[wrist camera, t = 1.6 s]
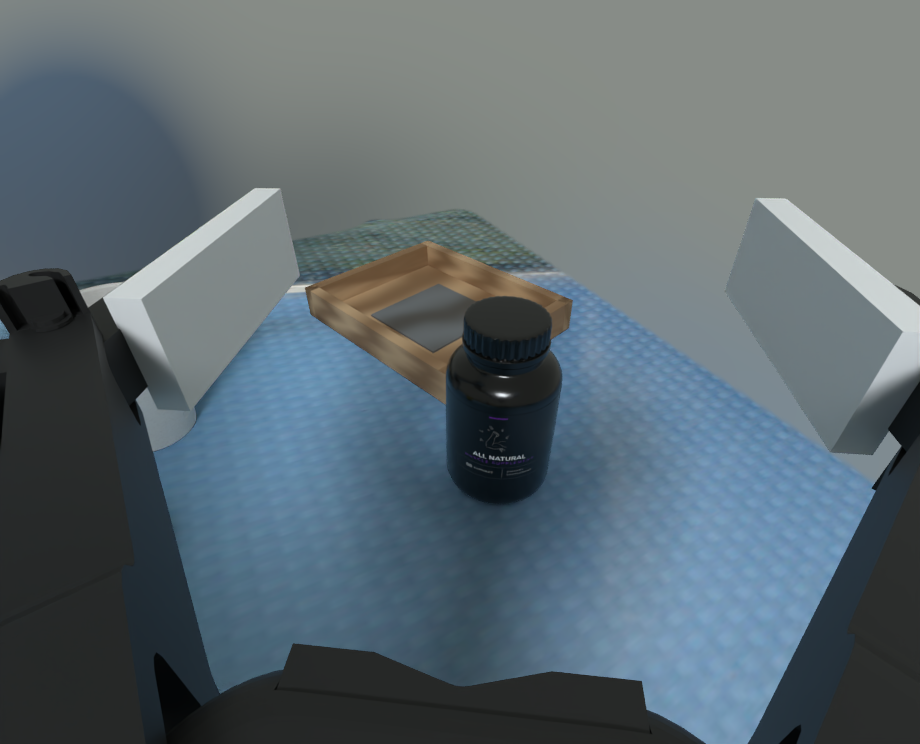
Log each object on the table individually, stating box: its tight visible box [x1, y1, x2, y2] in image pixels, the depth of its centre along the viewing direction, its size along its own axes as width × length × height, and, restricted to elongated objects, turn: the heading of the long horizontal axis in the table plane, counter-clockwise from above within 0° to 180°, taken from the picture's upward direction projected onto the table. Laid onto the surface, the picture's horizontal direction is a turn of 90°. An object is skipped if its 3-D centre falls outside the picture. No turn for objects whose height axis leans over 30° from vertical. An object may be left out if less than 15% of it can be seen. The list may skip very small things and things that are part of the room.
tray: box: [305, 241, 573, 405], centre depth 49 cm, size 20×16×3 cm
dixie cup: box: [79, 282, 196, 452], centre depth 35 cm, size 8×8×10 cm
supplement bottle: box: [446, 296, 562, 504], centre depth 31 cm, size 7×7×12 cm
